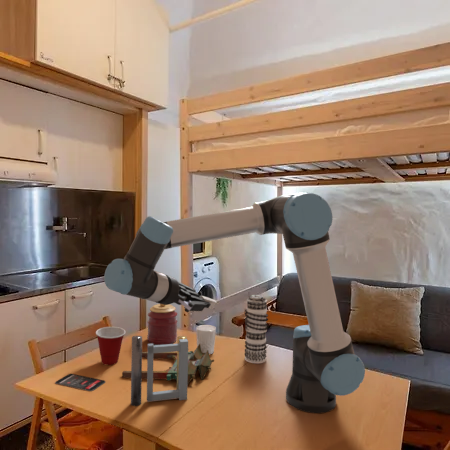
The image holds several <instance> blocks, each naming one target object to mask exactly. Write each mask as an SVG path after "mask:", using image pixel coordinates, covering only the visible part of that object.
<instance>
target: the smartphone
mask: <svg viewBox="0 0 450 450" xmlns="http://www.w3.org/2000/svg"><path fill="white" fill-rule="evenodd" d="M54 383H55V384H56V385H60V386H65V387H68V388H72V389H73V388H74V389H78V390H83V391H87V392H93V391H95V390H96V389H98V388H99V387H101V386H102V385H104V384H105V383H106V380H104V379H100V378H99V379H98V378H96V377H95V378H94V377H89V376H84V375H81V374H80V375H79V374H74V373H68V374H67V375H64V376H63V377H62V378H59V379H58V380H56V381H55V382H54Z"/></svg>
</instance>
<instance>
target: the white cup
mask: <svg viewBox="0 0 450 450" xmlns="http://www.w3.org/2000/svg"><path fill="white" fill-rule="evenodd" d="M216 330H217V327H216V326H214V325H210V324H202V325H201V324H200V325H198V326H196V348H197V347H198V345H199V344H200V346H201V351H202V353H206V351H207V350H208V352H209V355H211V354H212V355H213V354H214V352H215V343H216Z"/></svg>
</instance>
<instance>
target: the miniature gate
mask: <svg viewBox="0 0 450 450" xmlns="http://www.w3.org/2000/svg"><path fill="white" fill-rule="evenodd" d="M147 356H148V351H142V359H143V358H145V359H147ZM153 359H159V360H160V359H161V360H162V359H164V360H165V359H167V360H173V361H174V363H173V365H172V366H169V367H168V368H167V369H166V370H153V380H166V381H171V380H176V381H177V351H175V352H163V353H153ZM214 362H215V359H212V358H211V357H210V354H209V352H208V350H207V351H206V353H202V351H201V346H200V344H199V345H198V347H197V346H196V349H195V350H194V351H193V350H190V351H188V381H187V387H188V385H189V384H190V382H191V380H192V379H196V373H197V371H198V372H199V376H200V380H202V381H203V380H204V379H205V377H206V376H205V375H206V373H207V372H208V371H211V370H212V367H211V366H212V363H214ZM121 376H122V378H125V379H126V378H127V379H131V370H123V371H122V373H121ZM142 380H147V370H142Z"/></svg>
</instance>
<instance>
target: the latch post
mask: <svg viewBox="0 0 450 450" xmlns="http://www.w3.org/2000/svg"><path fill="white" fill-rule="evenodd" d="M179 339H187V340H188V337H187V336H186V335H180V336H177V339H176V341H177V342H176V344H178V343H179ZM176 352H177V380H176V389H178V376H179V351H176ZM176 389H175V390H176Z"/></svg>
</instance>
